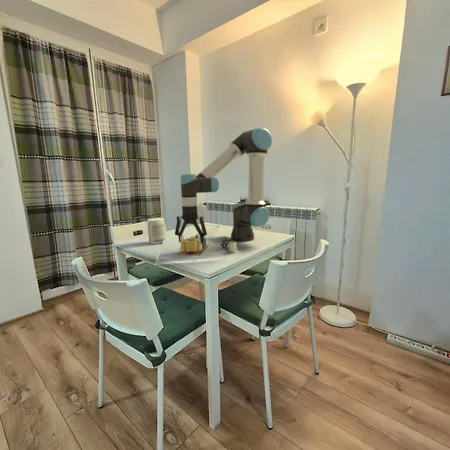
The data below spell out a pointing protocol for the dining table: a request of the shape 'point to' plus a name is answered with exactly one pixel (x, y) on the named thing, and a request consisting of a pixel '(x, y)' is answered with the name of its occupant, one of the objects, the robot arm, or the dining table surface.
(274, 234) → the dining table surface
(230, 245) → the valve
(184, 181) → the robot arm
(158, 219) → the supplement tub
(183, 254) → the gear board
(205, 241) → the gear
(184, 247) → the brass gear
